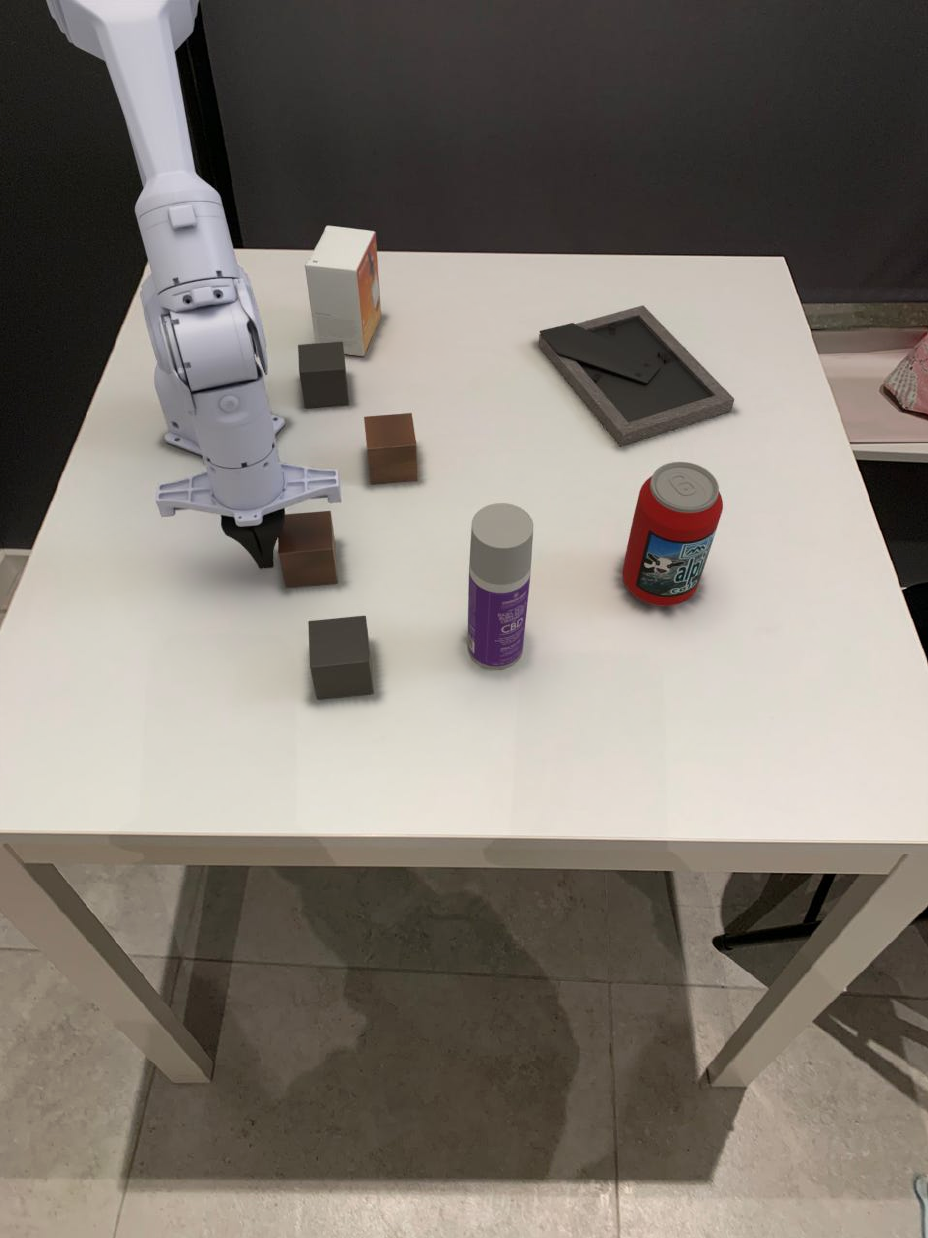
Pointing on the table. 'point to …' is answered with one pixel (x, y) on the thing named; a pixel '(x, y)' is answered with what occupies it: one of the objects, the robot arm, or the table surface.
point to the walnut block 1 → (308, 550)
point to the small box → (344, 288)
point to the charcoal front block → (340, 657)
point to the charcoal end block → (323, 374)
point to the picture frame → (634, 374)
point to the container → (498, 584)
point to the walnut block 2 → (391, 448)
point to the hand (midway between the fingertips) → (266, 559)
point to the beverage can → (672, 533)
